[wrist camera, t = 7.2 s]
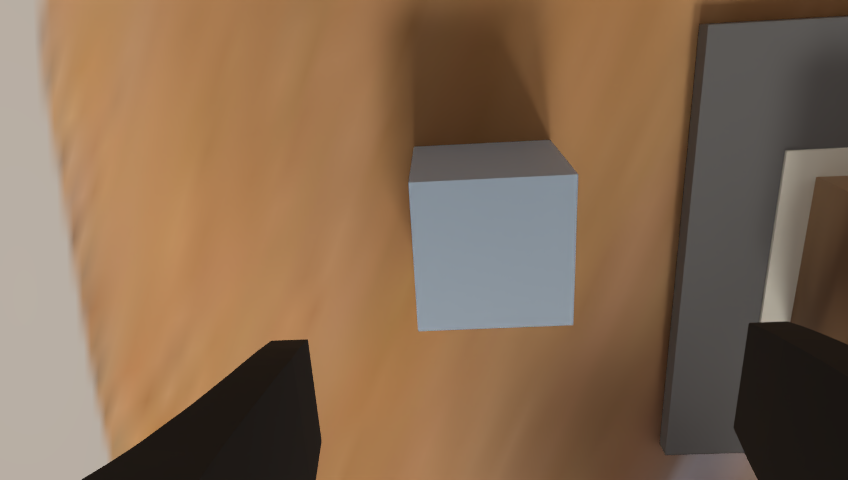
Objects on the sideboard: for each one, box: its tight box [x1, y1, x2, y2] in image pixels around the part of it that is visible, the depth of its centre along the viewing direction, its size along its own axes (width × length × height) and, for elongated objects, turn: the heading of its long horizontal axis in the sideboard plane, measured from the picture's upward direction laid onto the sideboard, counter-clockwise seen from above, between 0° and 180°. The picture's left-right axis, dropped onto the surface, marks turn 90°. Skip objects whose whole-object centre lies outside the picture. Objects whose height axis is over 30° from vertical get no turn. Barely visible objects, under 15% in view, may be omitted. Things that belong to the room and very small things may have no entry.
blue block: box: [408, 140, 578, 331], centre depth 17 cm, size 4×4×4 cm
